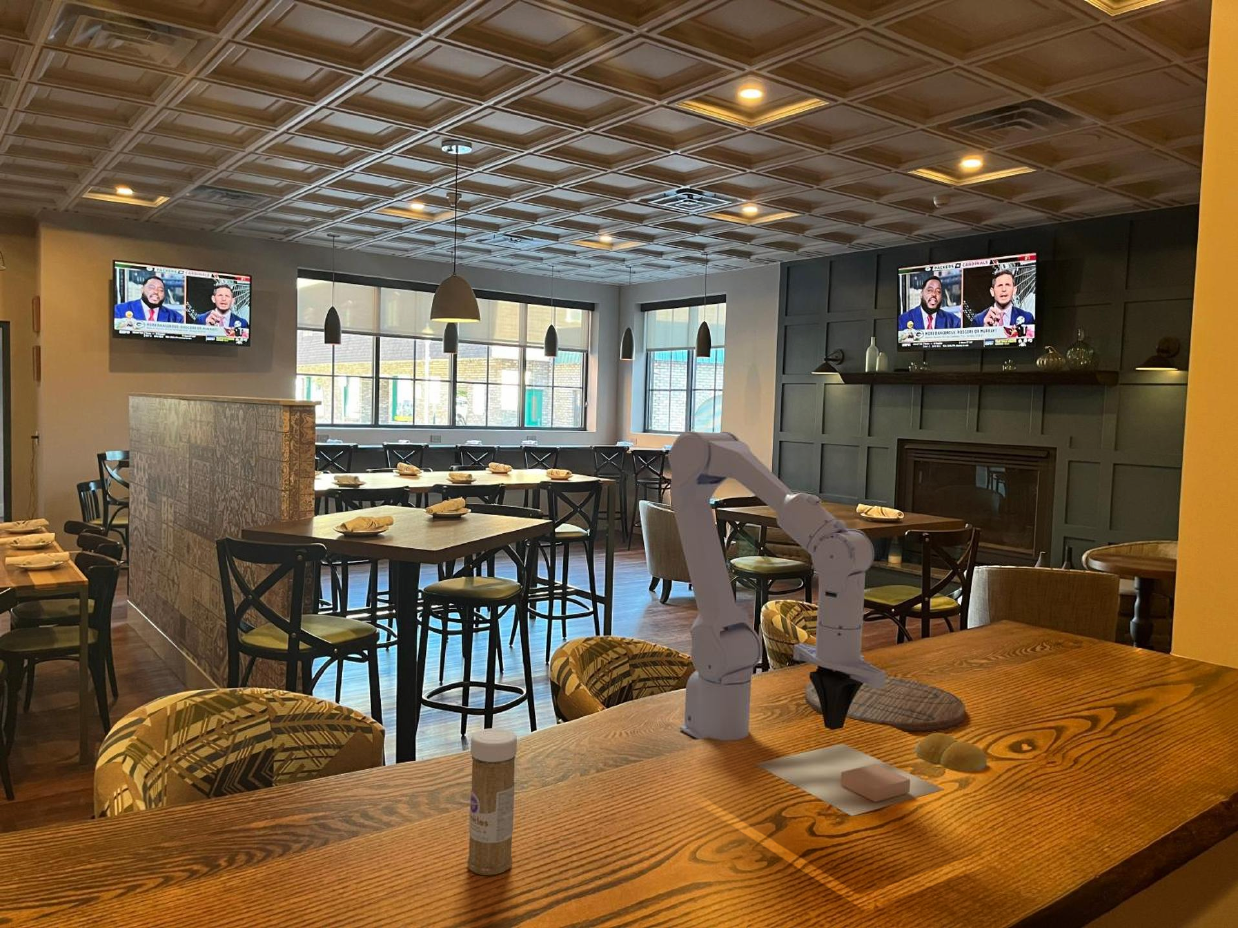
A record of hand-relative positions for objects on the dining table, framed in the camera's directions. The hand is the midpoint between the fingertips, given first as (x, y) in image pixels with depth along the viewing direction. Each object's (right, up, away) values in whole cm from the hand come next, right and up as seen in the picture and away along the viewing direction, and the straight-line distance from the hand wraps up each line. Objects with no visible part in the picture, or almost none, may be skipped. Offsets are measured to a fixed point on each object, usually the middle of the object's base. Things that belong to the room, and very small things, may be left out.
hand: (833, 727), depth 117 cm
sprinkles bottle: (-41, -6, -27) cm, 49 cm away
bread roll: (+17, -7, +5) cm, 19 cm away
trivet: (+15, -6, +29) cm, 33 cm away
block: (+2, -5, -5) cm, 7 cm away
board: (+1, -6, -3) cm, 7 cm away
